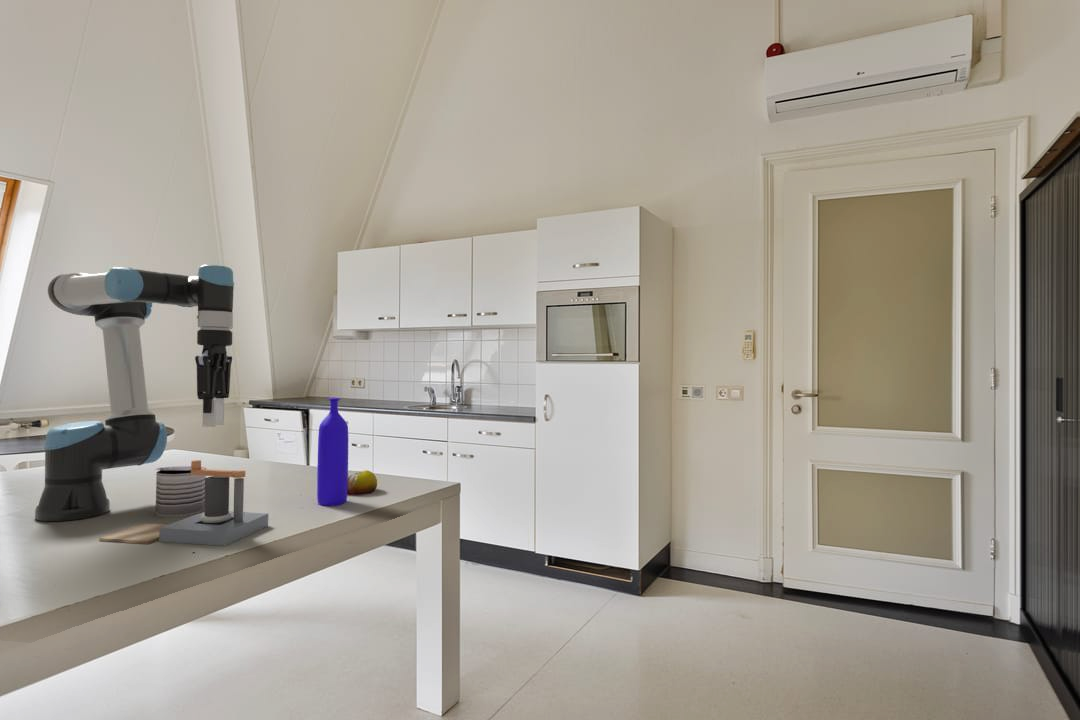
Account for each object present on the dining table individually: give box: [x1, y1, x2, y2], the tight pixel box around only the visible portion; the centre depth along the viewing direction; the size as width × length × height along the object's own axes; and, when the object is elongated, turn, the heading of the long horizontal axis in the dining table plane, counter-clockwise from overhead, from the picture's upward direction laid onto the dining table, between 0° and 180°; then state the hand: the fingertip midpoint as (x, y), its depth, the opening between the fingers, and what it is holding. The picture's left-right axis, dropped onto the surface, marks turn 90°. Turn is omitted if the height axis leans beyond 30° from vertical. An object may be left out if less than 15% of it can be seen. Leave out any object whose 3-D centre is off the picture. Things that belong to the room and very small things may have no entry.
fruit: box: [347, 470, 378, 496], centre depth 185 cm, size 11×10×8 cm
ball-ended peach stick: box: [190, 459, 246, 479], centre depth 139 cm, size 13×3×3 cm, turn 82°
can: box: [155, 465, 207, 518], centre depth 158 cm, size 11×11×12 cm
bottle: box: [316, 397, 349, 507], centre depth 170 cm, size 8×8×30 cm
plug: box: [201, 476, 233, 525], centre depth 139 cm, size 6×6×13 cm
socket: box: [158, 477, 269, 547], centre depth 139 cm, size 16×16×13 cm
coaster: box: [98, 522, 167, 545], centre depth 137 cm, size 12×12×1 cm
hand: (213, 425), depth 145 cm, fingers open, 3 cm apart
